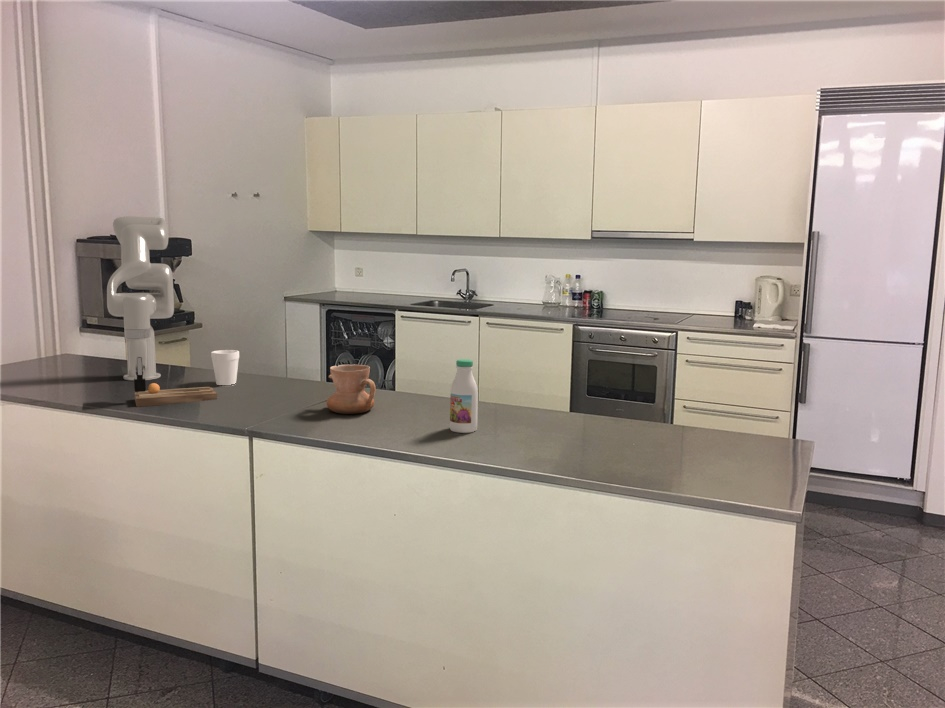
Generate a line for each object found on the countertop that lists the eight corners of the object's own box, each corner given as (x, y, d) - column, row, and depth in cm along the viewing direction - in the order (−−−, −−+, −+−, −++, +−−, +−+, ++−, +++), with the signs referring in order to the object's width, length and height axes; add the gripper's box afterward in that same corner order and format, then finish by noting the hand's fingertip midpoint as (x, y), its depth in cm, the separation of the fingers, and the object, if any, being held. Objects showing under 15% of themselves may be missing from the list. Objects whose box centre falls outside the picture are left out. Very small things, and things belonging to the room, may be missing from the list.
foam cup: (206, 388, 259) (205, 352, 257) (226, 384, 267) (225, 349, 265) (226, 391, 255) (225, 354, 253) (245, 386, 263) (244, 351, 261)
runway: (134, 399, 238) (134, 390, 237) (212, 394, 248) (211, 385, 248) (136, 406, 227) (136, 397, 227) (217, 400, 238) (216, 391, 237)
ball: (147, 393, 235) (147, 382, 235) (159, 392, 237) (159, 381, 236) (148, 395, 232) (147, 384, 231) (160, 394, 234) (159, 383, 233)
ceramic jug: (313, 412, 223) (313, 367, 222) (347, 405, 235) (346, 361, 233) (356, 421, 213) (356, 373, 211) (389, 412, 225) (389, 367, 223)
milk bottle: (461, 425, 210) (463, 357, 207) (482, 430, 205) (484, 360, 202) (444, 430, 204) (445, 360, 201) (465, 435, 199) (466, 363, 196)
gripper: (123, 332, 235) (126, 388, 237) (125, 337, 222) (127, 396, 224) (149, 331, 238) (151, 386, 241) (151, 336, 225) (154, 394, 227)
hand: (140, 391), depth 232 cm, fingers closed
